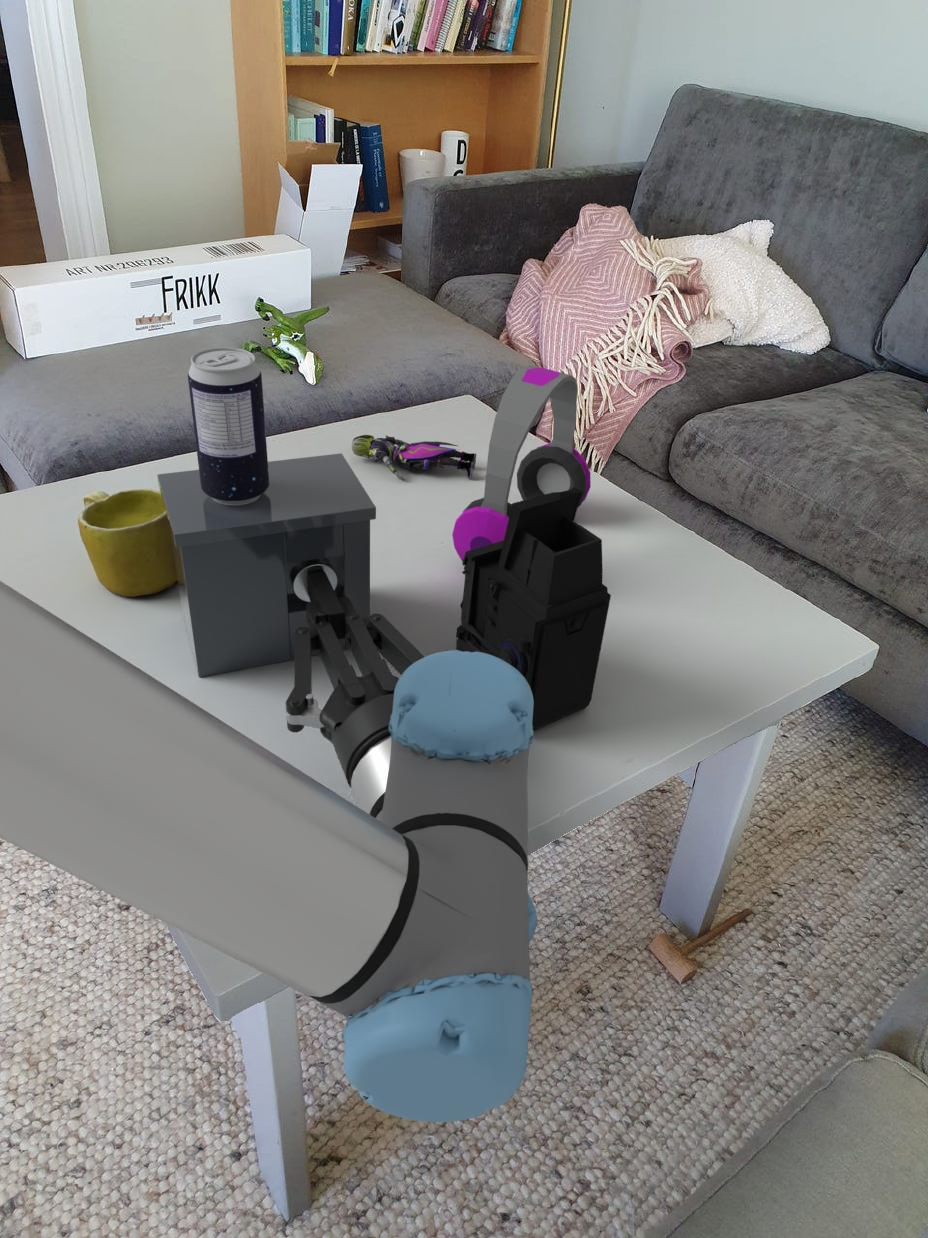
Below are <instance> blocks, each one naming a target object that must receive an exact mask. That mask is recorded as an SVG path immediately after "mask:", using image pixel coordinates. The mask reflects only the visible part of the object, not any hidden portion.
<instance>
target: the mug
mask: <svg viewBox="0 0 928 1238" xmlns="http://www.w3.org/2000/svg"><path fill="white" fill-rule="evenodd" d="M83 504H84V508H83V509H82V510H81V511H80V512H79V514H78V517H77V518H78V519H77V524H78V530H79V535H80V538H81V542H82V544H83V546H84V548H85V551H86V553H87V555H88V558H89V561H90V563H91V565H92V567H93V571H94V573H95V575H96V578H97V580H98V582H99V583H100V584H101V585H102V587H104V589H106V590H107V591H109V592H110V593H112V594H115V595H116V596H120V597H124V598H136V597H141V596H149V595H150V596H151V595H155V594H157V593H160V592H162V591H163V590H167V589H169V588H170V587H172V586H173V585H174V584H175V583H176V582H178V579H177V572H176V565H175V559H174V552H173V545H172V538H171V531H170V525H169V521H168V517H167V514H166V510H165V506H164V503H163V499H162V495H161V492H160V490H154V489H150V488H135V489H134V488H133V489H126V490H121V491H118V492H115V493H112V494H110V495H109V494H108V493H107V492H105V491H103V490H95V491H93V492H91V493H89V494H86V495H85V496H84V497H83Z"/></svg>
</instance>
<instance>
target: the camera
mask: <svg viewBox="0 0 928 1238" xmlns="http://www.w3.org/2000/svg"><path fill="white" fill-rule="evenodd" d="M582 493H583V491H581V490H579V489H576V488H574V487H573V488H572V489H571V490H567V491H563V492H552V493H549V494H545V495H542V496H538V497H535V498H531V499H527V500H524V501H523V500H520V501H516V502H512V503H511V504H512V507H511V512H510V516H509V520H508V525H507V529H506V533H505V538H504V540H503V541H500V542H496V543H493V544H490V545H486V546H483V547H480V548H476V549H473V550H470V551H466V553H465V556H464V558H463V561H462V560H461V564H462V566H463V570H462V572H461V573H462V575H464V584H463V585H464V586H463V594H462V600H461V602H460V605H459V607H460V609H461V614H460V622H461V623H460V625H459V626H458V627H456V633H455V637H456V646H455V650H459V651H462V652H465V651H468V652H482V653H486V654H489V655H492V656H495V657H497V658H500V659H502V660H503V661H505V662H507V663H508V664H510V665H511V666H513V667H514V668H515V669H517V670H518V671H519V672H520V673H521V674H522V675H523V677H524V678H525V679H526V681H527V683H528V684H529V686H530V688H531V691H532V695H533V700H534V706H533V720H532V725H533V727H534V728H533V732H535V731H537V730H538V729H542V728H543V727H546V726H548V725H551V724H552V723H555V722H557V721H559V720H562V719H564V718H567V717H569V716H571V715H573V714H575V713H578V712H580V711H582V710H585V709H587V708H588V707H589V705H590V704H591V702H592V698H593V692H594V688H595V681H596V676H597V672H598V666H599V661H600V655H601V650H602V644H603V639H604V634H605V630H606V624H607V619H608V613H609V609H610V602H611V597H612V595H611V593H609V592H608V587H607V586H606V585H605V584H604V583H603V540H602V538H600V537H598V536H597V535H596V534H595V533H593V532H591V531H590V530H589V529H586V528H585V527H584V526H583V525H580V524H579V523H577V522H575V518H576V514H577V511H578V509H579V507H580V506H579V502H580V499H581V496H582ZM578 506H579V507H578Z"/></svg>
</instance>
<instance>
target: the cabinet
mask: <svg viewBox="0 0 928 1238" xmlns="http://www.w3.org/2000/svg"><path fill="white" fill-rule="evenodd" d="M268 473H269V487H268V488H267V490H266V491H265V492H264V493H262V494H261V496H260V497H259V498H258V499H257V500H256V501H254V502H252V503H249V504H245V505H239V506H230V505H223V504H220V503H218V502H216V501H214V500H213V499H212V497H210V496H208V495H207V494H205V493H204V492H203V490H202V488H201V482H200V474H199V469H193V470H185V471H183V470H182V471H176V472H175V471H174V472H166V473H157V475H156V476H157V483H158V487H159V491H160V492H161V495H162V499H163V503H164V506H165V510H166V514H167V517H168V521H169V525H170V531H171V538H172V545H173V552H174V559H175V565H176V572H177V579H178V581H177V585H178V593H179V600H180V606H181V613H182V618H183V621H184V625H185V629H186V633H187V636H188V637H187V638H188V641H189V645H190V649H191V653H192V657H193V660H194V663H195V668H196V672H197V676H198V678H204V677H208V676H214V675H219V674H224V673H229V672H234V671H241V670H245V669H251V668H256V667H260V666H265V665H272V664H276V663H277V664H278V663H283V662H288V661H293V660H294V661H295V631H296V629H297V628H299V627H307V628H310V627H309V624H308V622H307V617H306V605H307V603H310V602H306V601H303V600H301V599H300V598H299V597H298V596H297V595H296V594H295V592H294V590H293V587H292V585H291V582H290V574H291V571H292V569H293V568H294V566H295V565H296V564H297V563H298V562H301V561H308V560H314V559H321V558H324V559H326V560H327V561H329V562H330V563H331V565H332V567H333V569H334V571H335V573H336V575H337V586H336V588H335V590H334V591H335V593H336V595H337V597H344V596H346V597H348V598H349V599H350V601H351V603H352V605H353V607H354V609H355V611H356V613H357V614H359V615H360V616H361V617H362V618H370V616H371V521H373V520H376V519H377V507H376V505H375V504H374V502H373V500H372V499H371V497H370V496H369V494H368V492H367V491H366V490H365V488H364V486H363V485H362V483H361V482H360V480H359V478H358V477H357V475H356V473H355V472H354V471H353V469H352V467H351V466H350V464H349V462H348V461H347V459H346V458H345V456H344V455H343V453H341V452H340V453H332V454H323V455H322V454H321V455H314V456H307V457H298V458H289V459H279V460H270V461H268ZM339 643H340V645H341V647H342V649H343V651H345V650H351V649H350V647H349V646H348V648H347V636H346V634H345V638H344V639H339ZM314 656H320V655H319V652H318V650H315V651H312V652H311V657H314Z"/></svg>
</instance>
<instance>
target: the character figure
mask: <svg viewBox="0 0 928 1238" xmlns="http://www.w3.org/2000/svg"><path fill="white" fill-rule="evenodd" d="M447 446H453V447H458V444H454V443H450V442H446V441H445V442H444V441H426V440H425V441H419V442H411V443H409V442H406V441H403V440H401V439H399V438H395V436H389V435H385V437H377V438H375V436H373V435H371V434H361V435H357V436H356V437H354V438H353V439H352V442H351V450H352V453H353V454H354V455H355V456H357V457H361V458H366V459H371V458H373V459H375V462H382V463H384V464H385V465H386V467H387V468H388V469H389V471H391V473H392V474H393V475H395V476H396V478H397V479H398V480H400V481H403V482H405V481H406V479H405V478H404V476H403V475H401V474H400V472H399V471H398V470H397V469H396V467H395V465H394V463H396V464H397V465H398V466H399V467H401V468H404V469H407V470H411V469H421V470H422V469H423V470H425V471H429V470H431V469H432V468H435V467H440V468H441V469H444V466H448V467H454V468H456V470H457V471H458V470H460V471H466V476H467V479H469V480H472V478H473V470H475V467H476V463H477V453H472V452H471V453H468V452H466V451H464V450H462V451H461V449H460V448H452V447H447ZM458 459H459V460H458Z"/></svg>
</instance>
